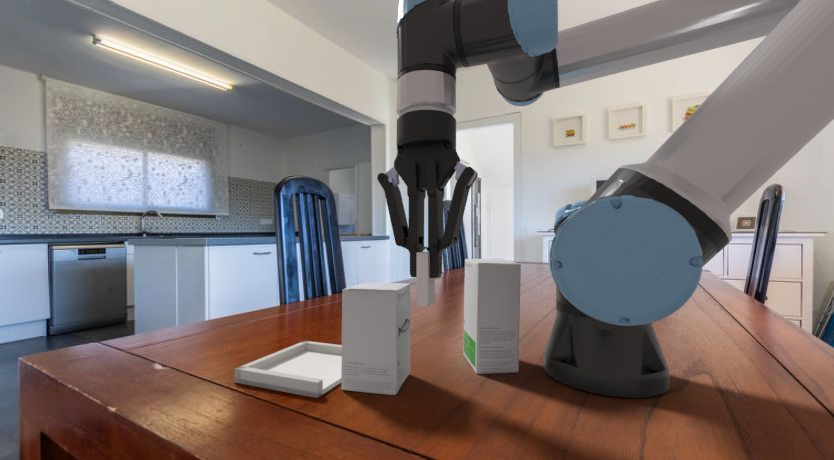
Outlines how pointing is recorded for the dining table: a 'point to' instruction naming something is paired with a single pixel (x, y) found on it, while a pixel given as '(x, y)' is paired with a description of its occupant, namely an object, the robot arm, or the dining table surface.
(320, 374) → the grey tray
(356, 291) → the supplement box
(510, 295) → the skincare box
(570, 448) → the dining table surface
